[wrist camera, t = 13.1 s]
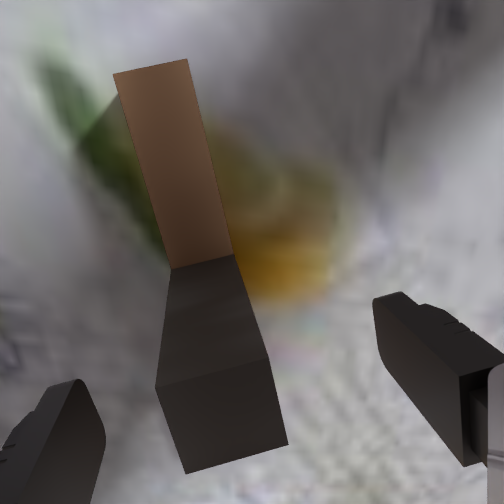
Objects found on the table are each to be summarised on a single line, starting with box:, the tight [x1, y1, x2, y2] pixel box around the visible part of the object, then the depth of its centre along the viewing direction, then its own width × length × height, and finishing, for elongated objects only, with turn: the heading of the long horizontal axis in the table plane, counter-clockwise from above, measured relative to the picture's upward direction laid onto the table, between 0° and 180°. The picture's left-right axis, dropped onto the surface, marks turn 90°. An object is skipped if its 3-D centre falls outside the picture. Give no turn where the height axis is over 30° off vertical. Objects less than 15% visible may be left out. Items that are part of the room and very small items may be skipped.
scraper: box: [113, 59, 289, 474], centre depth 13 cm, size 2×16×10 cm, turn 13°
